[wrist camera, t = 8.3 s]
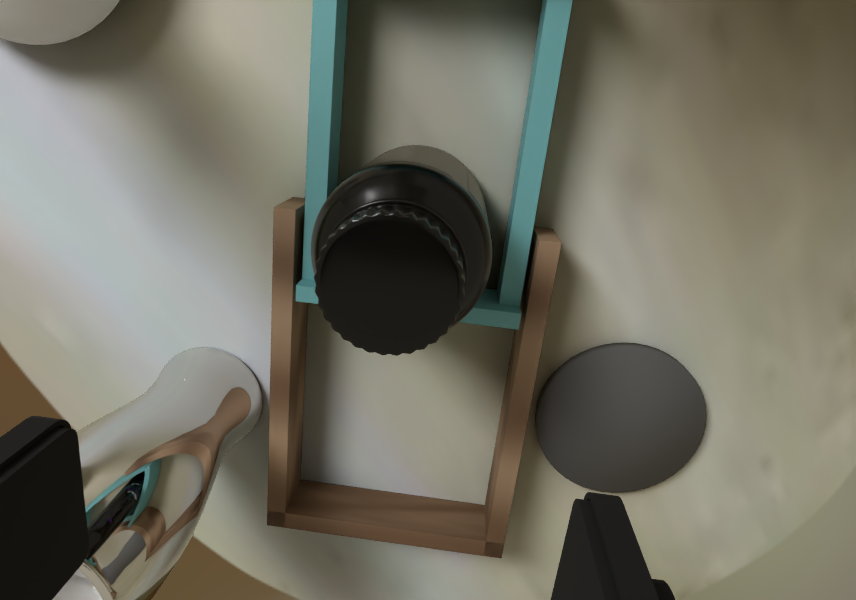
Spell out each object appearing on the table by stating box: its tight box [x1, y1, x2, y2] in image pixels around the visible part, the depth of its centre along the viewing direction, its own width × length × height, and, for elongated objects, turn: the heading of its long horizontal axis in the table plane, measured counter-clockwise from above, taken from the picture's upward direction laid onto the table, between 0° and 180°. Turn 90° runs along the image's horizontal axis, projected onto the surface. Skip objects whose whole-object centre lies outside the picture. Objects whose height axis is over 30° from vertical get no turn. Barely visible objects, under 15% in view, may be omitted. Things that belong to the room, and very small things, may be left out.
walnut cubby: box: [267, 197, 561, 558], centre depth 31 cm, size 18×13×3 cm
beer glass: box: [52, 347, 262, 600], centre depth 26 cm, size 7×7×15 cm
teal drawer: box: [296, 0, 573, 330], centre depth 26 cm, size 16×11×4 cm, turn 174°
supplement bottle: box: [311, 145, 492, 356], centre depth 23 cm, size 7×7×12 cm
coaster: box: [536, 343, 706, 493], centre depth 32 cm, size 9×9×1 cm
